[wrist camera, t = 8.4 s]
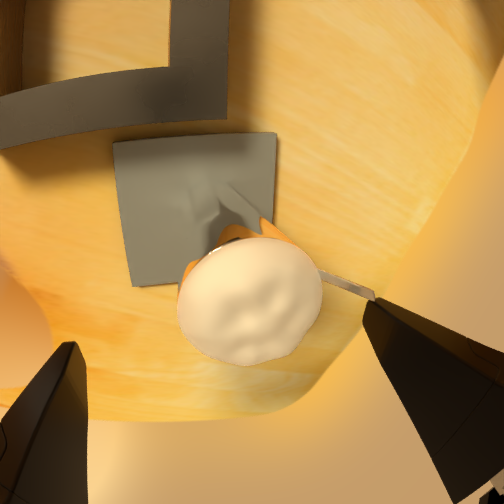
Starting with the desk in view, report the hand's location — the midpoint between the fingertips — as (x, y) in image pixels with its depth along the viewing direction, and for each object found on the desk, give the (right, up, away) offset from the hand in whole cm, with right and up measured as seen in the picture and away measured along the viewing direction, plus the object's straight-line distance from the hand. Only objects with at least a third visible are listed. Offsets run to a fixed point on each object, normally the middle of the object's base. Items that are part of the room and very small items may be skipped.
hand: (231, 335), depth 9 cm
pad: (-2, +5, +8) cm, 9 cm away
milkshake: (-1, +5, +8) cm, 9 cm away
